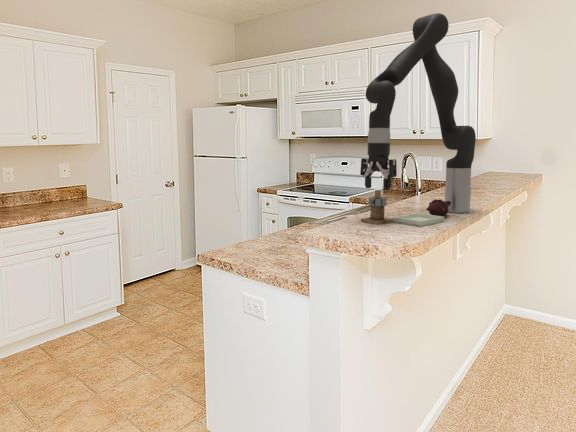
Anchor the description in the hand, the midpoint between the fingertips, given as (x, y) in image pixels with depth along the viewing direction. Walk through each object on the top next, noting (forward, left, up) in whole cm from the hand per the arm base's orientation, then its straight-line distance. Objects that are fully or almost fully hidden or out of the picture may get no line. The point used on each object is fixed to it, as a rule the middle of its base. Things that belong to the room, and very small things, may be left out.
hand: (377, 188), depth 161 cm
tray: (-10, +10, -12) cm, 18 cm away
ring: (0, 0, -6) cm, 6 cm away
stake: (0, 0, -12) cm, 12 cm away
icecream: (-23, +9, -12) cm, 28 cm away
